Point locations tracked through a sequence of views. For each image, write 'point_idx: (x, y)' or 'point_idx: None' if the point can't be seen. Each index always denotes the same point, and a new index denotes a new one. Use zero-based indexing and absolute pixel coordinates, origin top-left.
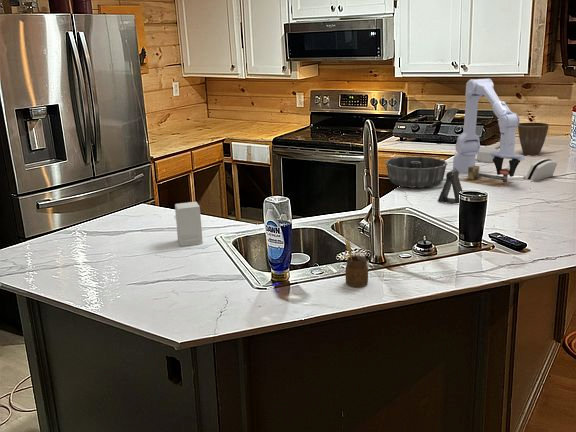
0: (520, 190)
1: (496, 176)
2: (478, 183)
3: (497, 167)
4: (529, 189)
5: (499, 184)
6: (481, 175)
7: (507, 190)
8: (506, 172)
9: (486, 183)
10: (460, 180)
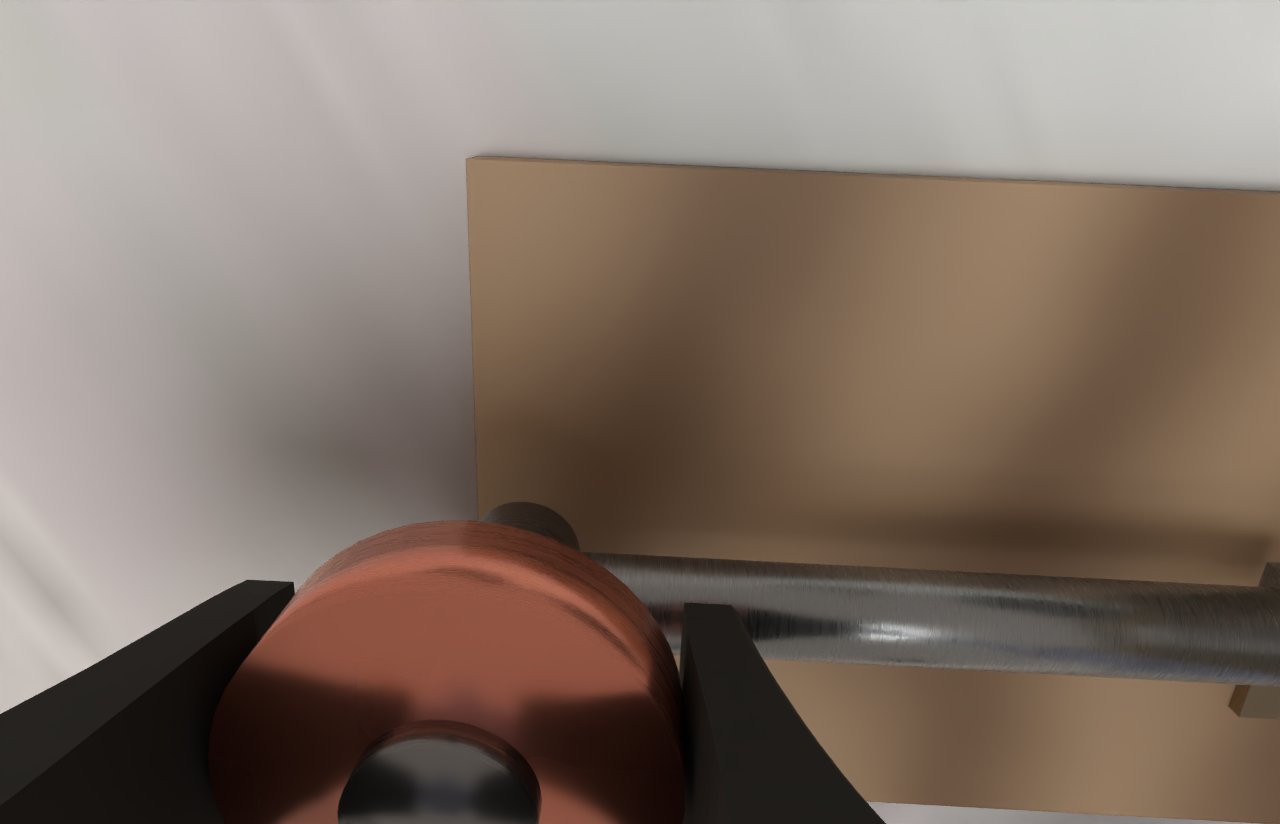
0: (61, 343)
1: (771, 600)
2: (1134, 217)
3: (744, 761)
4: (6, 530)
5: (623, 437)
6: (1256, 592)
7: (258, 156)
8: (301, 598)
9: (940, 344)
10: None
